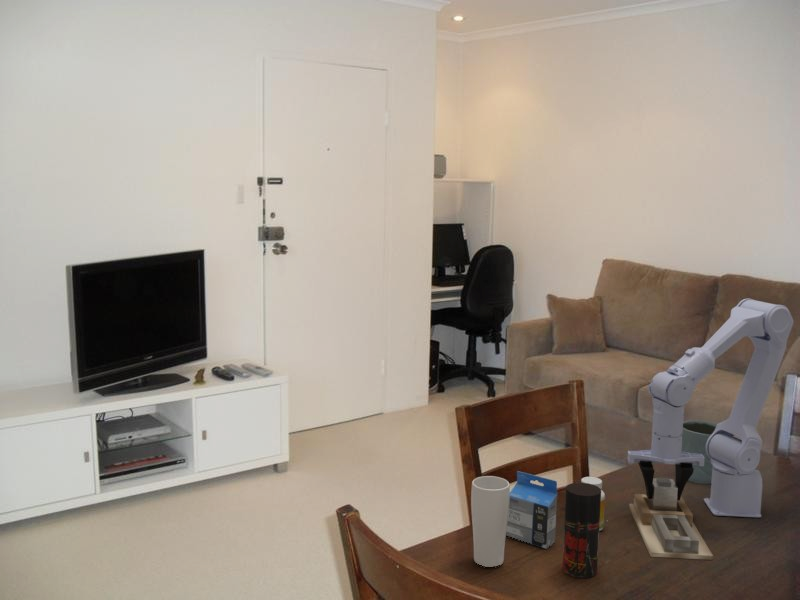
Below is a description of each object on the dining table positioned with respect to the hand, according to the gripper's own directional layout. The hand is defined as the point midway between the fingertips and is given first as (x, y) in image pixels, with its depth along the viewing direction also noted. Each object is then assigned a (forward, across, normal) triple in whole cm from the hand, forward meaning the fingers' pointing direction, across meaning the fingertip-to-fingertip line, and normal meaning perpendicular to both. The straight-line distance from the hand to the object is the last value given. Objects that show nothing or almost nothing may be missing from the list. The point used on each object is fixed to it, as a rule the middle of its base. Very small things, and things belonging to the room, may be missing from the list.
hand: (663, 497), depth 162 cm
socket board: (+5, 0, -5) cm, 7 cm away
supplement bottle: (+5, -15, -5) cm, 17 cm away
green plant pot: (+5, +14, +25) cm, 29 cm away
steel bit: (+4, 0, 0) cm, 4 cm away
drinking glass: (+5, -35, -22) cm, 42 cm away
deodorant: (+5, -19, -23) cm, 30 cm away
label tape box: (+5, -27, -12) cm, 30 cm away
